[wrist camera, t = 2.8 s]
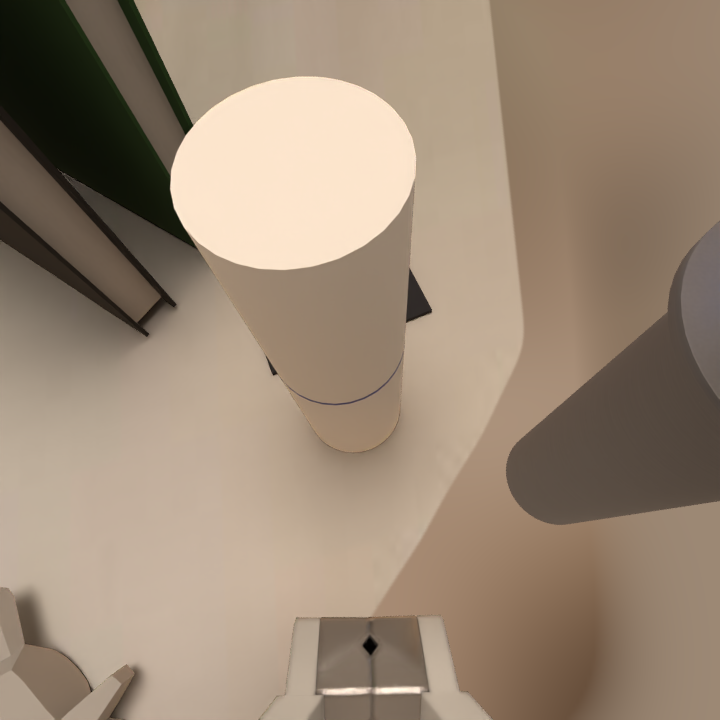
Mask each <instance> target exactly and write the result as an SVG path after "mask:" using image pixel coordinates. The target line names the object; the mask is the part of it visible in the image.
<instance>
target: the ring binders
mask: <svg viewBox="0 0 720 720" xmlns="http://www.w3.org/2000/svg"><path fill="white" fill-rule="evenodd" d="M192 127H193V124H192V122H191V120H190V118H189V116H188V114H187V112H186V109H185V107H184V105H183V103H182V101H181V99H180V97H179V95H178V93H177V91H176V88H175V86H174V84H173V82H172V80H171V78H170V76H169V74H168V72H167V70H166V67H165V65H164V63H163V61H162V59H161V57H160V55H159V53H158V51H157V49H156V46H155V44H154V42H153V40H152V38H151V36H150V34H149V32H148V30H147V28H146V26H145V23H144V21H143V19H142V17H141V15H140V13H139V11H138V9H137V7H136V5H135V2H134V0H0V240H2V241H3V242H5V243H6V244H8V245H9V246H11V247H12V248H14V249H15V250H17V251H18V252H20V253H22V254H23V255H25V256H26V257H28V258H29V259H31V260H32V261H34V262H35V263H37V264H38V265H40V266H41V267H43V268H44V269H46V270H47V271H49V272H50V273H52V274H53V275H55V276H56V277H58V278H59V279H61V280H62V281H64V282H65V283H67V284H68V285H70V286H71V287H73V288H74V289H76V290H77V291H79V292H80V293H82V294H83V295H85V296H86V297H88V298H89V299H91V300H92V301H94V302H95V303H97V304H98V305H100V306H101V307H103V308H104V309H106V310H107V311H109V312H110V313H112V314H113V315H115V316H116V317H118V318H119V319H121V320H122V321H124V322H126V323H127V324H129V325H130V326H132V327H133V328H135V329H136V330H138V331H139V332H141V333H142V334H144V335H145V336H148V335H149V333H148V332H146V331H145V330H144V329H143V328H142V327H141V326H140V325H139V324H137V322H138V321H139V320H140V319H141V318H142V317H143V316H144V315H145V314H146V313H147V312H148V311H149V310H150V308H151V307H152V306H153V305H154V304H155V303H156V302H157V301H158V300H159V299H160V298H162V299H164V300H165V301H166V302H168V303H169V304H171V305H172V306H173V307H175V306H176V303H175V302H174V301H173V300H172V299H171V298H170V297H169V295H168V294H167V293H166V292H165V291H164V290H163V289H162V288H161V286H160V285H159V284H158V283H157V282H156V281H155V280H154V278H153V277H152V276H151V275H150V274H149V273H148V272H147V271H146V269H145V268H144V267H143V266H142V265H141V264H140V263H139V261H138V260H137V259H136V258H135V257H134V256H133V255H132V254H131V252H130V251H129V250H128V249H127V248H126V247H125V246H124V244H123V243H122V242H121V241H120V240H119V239H118V238H117V237H116V235H115V234H114V233H113V232H112V231H111V230H110V229H109V227H108V226H107V225H106V224H105V223H104V222H103V221H102V220H101V218H100V217H99V216H98V215H97V214H96V213H95V212H94V210H93V209H92V208H91V207H90V206H89V205H88V204H87V203H86V201H85V200H84V199H83V198H82V197H81V196H80V195H79V193H78V192H77V191H76V190H75V189H74V188H73V187H72V186H71V184H70V183H69V182H68V181H67V180H66V179H65V178H64V176H63V175H62V174H61V173H60V172H59V171H58V170H57V169H59V170H61V171H63V172H64V173H66V174H68V175H70V176H71V177H73V178H75V179H77V180H78V181H80V182H82V183H84V184H85V185H87V186H89V187H91V188H92V189H94V190H96V191H98V192H99V193H101V194H103V195H105V196H106V197H108V198H110V199H112V200H113V201H115V202H117V203H119V204H120V205H122V206H124V207H126V208H127V209H129V210H131V211H133V212H134V213H136V214H138V215H140V216H141V217H143V218H145V219H147V220H148V221H150V222H152V223H154V224H155V225H157V226H159V227H161V228H162V229H164V230H166V231H168V232H169V233H171V234H173V235H175V236H176V237H178V238H180V239H182V240H183V241H185V242H187V243H189V244H190V245H192V246H194V247H196V245H195V244H194V242H193V241H192V239H191V237H190V236H189V234H188V233H187V231H186V230H185V228H184V227H183V225H182V223H181V221H180V219H179V217H178V215H177V213H176V211H175V209H174V205H173V200H172V195H171V191H170V184H171V169H172V166H173V163H174V159H175V156H176V153H177V150H178V149H179V147H180V145H181V143H182V141H183V140H184V138H185V136H186V135H187V133H188V132H189V131H190V130H191V128H192ZM56 168H57V169H56ZM196 248H197V247H196ZM197 249H198V248H197Z"/></svg>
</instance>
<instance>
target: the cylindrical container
mask: <svg viewBox="0 0 720 720" xmlns="http://www.w3.org/2000/svg"><path fill="white" fill-rule="evenodd" d="M415 169H416V154H415V149H414V144H413V139H412V137H411V135H410V133H409V131H408V129H407V127H406V125H405V123H404V121H403V120H402V119H401V117H400V116H399V115H398V114H397V113H396V111H395V110H394V109H393V108H392V107H391V106H390V105H389V104H387V103H386V102H385V101H383V100H382V99H381V98H379V97H378V96H377V95H376V94H374V93H372V92H370V91H368V90H366V89H364V88H362V87H359V86H357V85H354V84H351V83H348V82H344V81H341V80H337V79H330V78H324V77H291V78H283V79H275V80H272V81H268V82H264V83H261V84H257V85H254V86H251V87H249V88H247V89H244V90H242V91H240V92H238V93H235V94H233V95H231V96H230V97H228V98H226V99H225V100H223V101H222V102H220V103H219V104H217V105H215V106H214V107H213V108H211V109H210V110H209V111H208V112H207V113H206V114H205V115H204V116H202V117H201V118H200V119H199V120H198V121H197V122H196V123H195V125H194V126H193V127H192V128H191V130H190V131H189V132H188V133H187V135H186V136H185V138H184V140H183V141H182V143H181V145H180V147H179V149H178V150H177V153H176V156H175V159H174V163H173V166H172V169H171V184H170V191H171V195H172V200H173V205H174V209H175V211H176V213H177V215H178V217H179V219H180V221H181V223H182V225H183V227H184V228H185V230H186V231H187V233H188V234H189V236H190V237H191V239H192V241H193V242H194V244H195V245H196V247H197V248H198V250H199V251H200V253H201V255H202V256H203V258H204V259H205V261H206V262H207V264H208V266H209V267H210V269H211V270H212V272H213V273H214V275H215V276H216V278H217V280H218V281H219V283H220V284H221V286H222V287H223V289H224V290H225V292H226V294H227V295H228V297H229V298H230V300H231V301H232V303H233V304H234V306H235V308H236V309H237V311H238V312H239V314H240V315H241V317H242V319H243V320H244V322H245V323H246V325H247V326H248V328H249V329H250V331H251V333H252V334H253V336H254V337H255V339H256V340H257V342H258V344H259V345H260V347H261V348H262V350H263V351H264V353H265V355H266V356H267V358H268V359H269V361H270V362H271V364H272V366H273V367H274V369H275V370H276V372H277V373H278V375H279V377H280V378H281V380H282V381H283V383H284V384H285V386H286V387H287V389H288V391H289V392H290V394H291V395H292V397H293V398H294V400H295V401H296V403H297V405H298V406H299V408H300V409H301V411H302V412H303V414H304V415H305V417H306V419H307V420H308V422H309V423H310V425H311V426H312V428H313V430H314V431H315V433H316V434H317V435H318V436H319V438H320V439H321V440H322V441H323V442H325V443H326V444H327V445H329V446H330V447H332V448H334V449H336V450H340V451H343V452H352V453H355V452H364V451H367V450H370V449H373V448H375V447H376V446H378V445H380V444H381V443H383V442H384V441H385V440H386V439H387V438H388V437H389V436H390V434H391V433H392V432H393V430H394V429H395V427H396V425H397V422H398V419H399V415H400V402H401V388H402V373H403V359H404V344H405V328H406V312H407V296H408V281H409V265H410V249H411V233H412V217H413V201H414V185H415Z"/></svg>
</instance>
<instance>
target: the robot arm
mask: <svg viewBox="0 0 720 720" xmlns="http://www.w3.org/2000/svg"><path fill="white" fill-rule="evenodd" d="M259 720H493V719H492V718H491V717H490V716H489V714H488V713H487V712H486V711H485V710H484V709H483V708H482V707H481V706H480V705H479V703H478V702H477V701H476V700H475V699H474V698H473V697H472V696H471V695H470V694H469V692H467V691H460V690H459V685H458V681H457V677H456V672H455V668H454V664H453V659H452V655H451V651H450V646H449V642H448V638H447V633H446V629H445V625H444V621H443V618H442V617H441V615H419V616H414V615H413V616H386V617H385V616H383V617H368V618H356V617H321V618H296V620H295V623H294V627H293V635H292V643H291V651H290V658H289V666H288V674H287V681H286V689H285V696H277V697H276V698H275V699H274V700H273V702H272V703H271V704H270V706H269V707H268V708H267V709H266V711H265V712H264V713H263V715H262V716H261V717H260V718H259Z"/></svg>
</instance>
